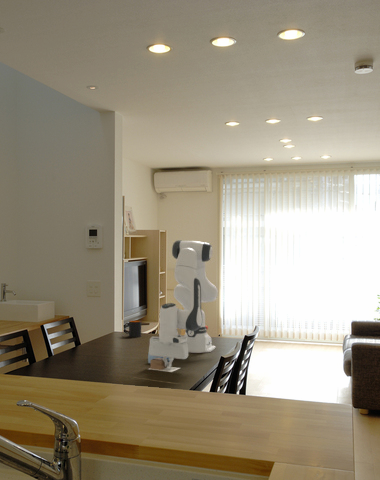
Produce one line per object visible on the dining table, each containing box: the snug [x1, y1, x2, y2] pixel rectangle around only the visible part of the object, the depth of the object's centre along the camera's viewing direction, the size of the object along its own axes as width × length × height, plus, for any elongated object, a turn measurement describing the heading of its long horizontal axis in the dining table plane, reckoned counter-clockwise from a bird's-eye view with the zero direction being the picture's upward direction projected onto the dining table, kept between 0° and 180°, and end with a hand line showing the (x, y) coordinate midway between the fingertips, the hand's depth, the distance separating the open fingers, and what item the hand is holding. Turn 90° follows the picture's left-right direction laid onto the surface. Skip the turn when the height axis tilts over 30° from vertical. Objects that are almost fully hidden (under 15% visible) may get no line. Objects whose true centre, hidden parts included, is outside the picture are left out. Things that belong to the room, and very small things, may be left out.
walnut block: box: [149, 358, 167, 371], centre depth 234 cm, size 6×6×4 cm
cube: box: [147, 352, 162, 364], centre depth 246 cm, size 5×5×5 cm
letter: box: [148, 366, 181, 373], centre depth 233 cm, size 9×13×1 cm
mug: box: [123, 319, 142, 338], centre depth 330 cm, size 8×12×10 cm
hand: (168, 366), depth 232 cm, fingers closed
